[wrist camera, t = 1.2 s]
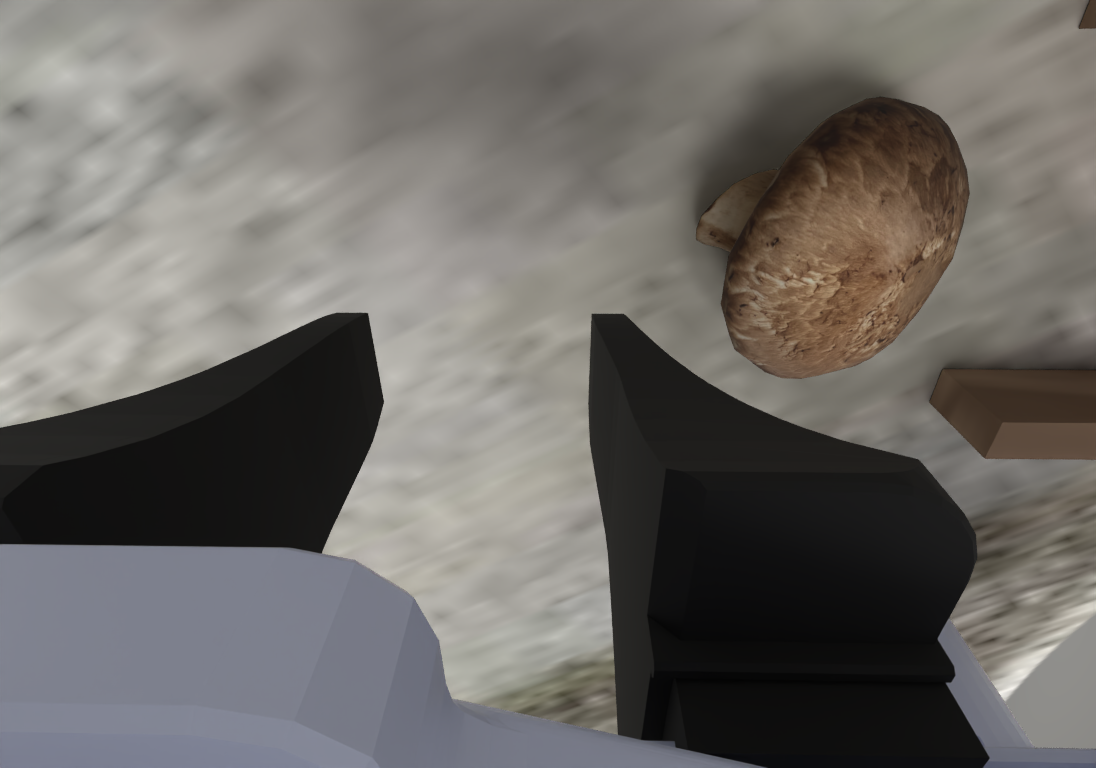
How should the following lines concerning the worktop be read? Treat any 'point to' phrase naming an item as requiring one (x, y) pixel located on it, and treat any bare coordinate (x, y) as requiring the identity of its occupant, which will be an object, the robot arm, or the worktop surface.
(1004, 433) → the wooden crate
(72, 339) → the worktop surface
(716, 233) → the mushroom
